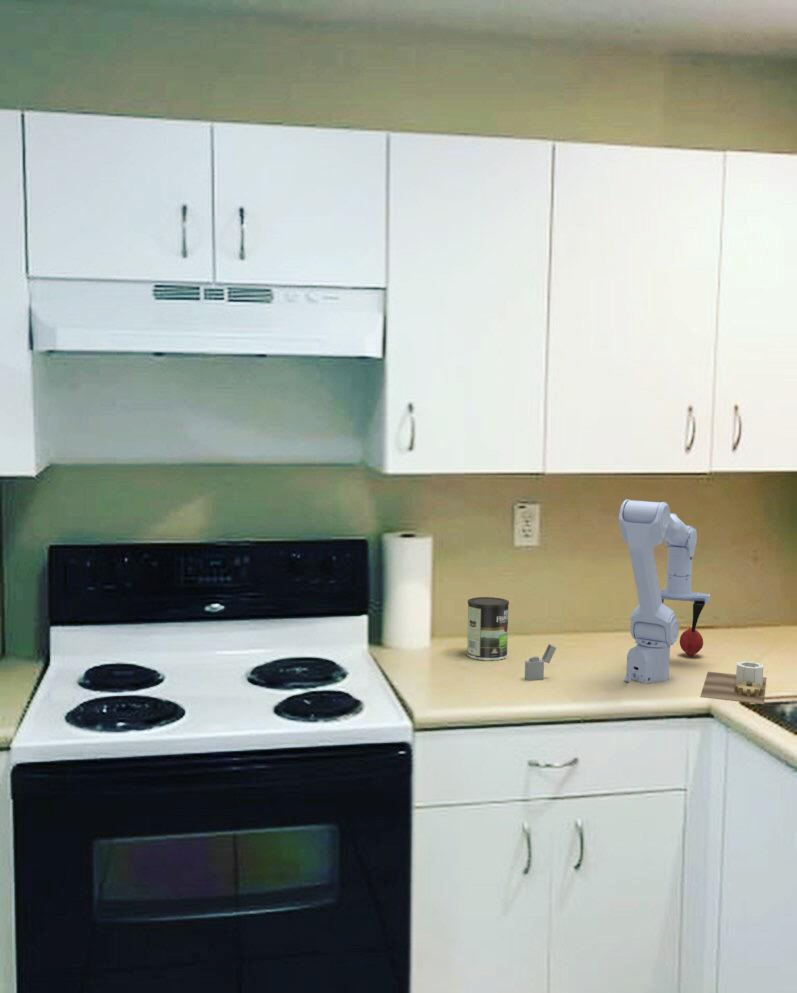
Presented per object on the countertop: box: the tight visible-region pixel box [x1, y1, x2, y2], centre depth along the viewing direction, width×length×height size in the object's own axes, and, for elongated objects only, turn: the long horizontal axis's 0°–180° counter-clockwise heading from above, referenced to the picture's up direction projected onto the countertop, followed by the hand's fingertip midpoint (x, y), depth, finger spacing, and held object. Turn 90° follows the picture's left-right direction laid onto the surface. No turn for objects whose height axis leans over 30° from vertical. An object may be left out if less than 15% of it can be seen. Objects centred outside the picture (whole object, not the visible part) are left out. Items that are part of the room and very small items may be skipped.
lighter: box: [524, 643, 557, 682], centre depth 237 cm, size 7×2×8 cm, turn 105°
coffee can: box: [466, 596, 510, 662], centre depth 257 cm, size 10×10×14 cm
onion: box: [679, 624, 704, 657], centre depth 259 cm, size 6×6×8 cm
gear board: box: [699, 671, 767, 705], centre depth 228 cm, size 22×13×4 cm, turn 159°
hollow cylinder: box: [736, 661, 764, 686], centre depth 231 cm, size 6×6×4 cm
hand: (677, 629), depth 247 cm, fingers open, 7 cm apart
